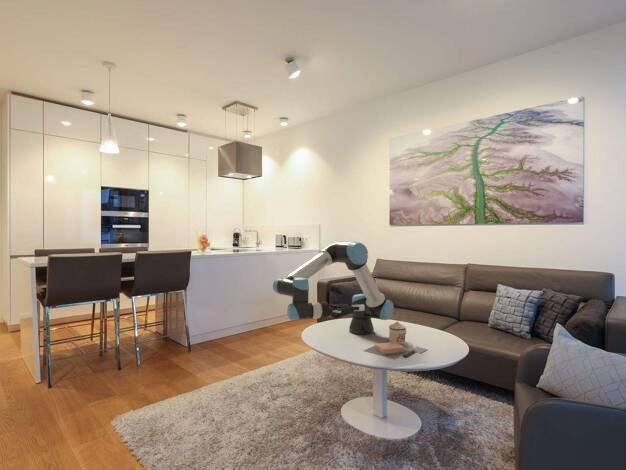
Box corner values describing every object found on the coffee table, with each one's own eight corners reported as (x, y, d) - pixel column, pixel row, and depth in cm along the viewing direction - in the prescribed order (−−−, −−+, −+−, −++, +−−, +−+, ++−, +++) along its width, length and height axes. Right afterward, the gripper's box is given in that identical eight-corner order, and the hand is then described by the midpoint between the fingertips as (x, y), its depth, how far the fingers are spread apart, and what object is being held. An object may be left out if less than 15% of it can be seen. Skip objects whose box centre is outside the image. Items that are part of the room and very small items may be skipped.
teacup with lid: (398, 346, 188) (398, 324, 187) (385, 342, 195) (385, 321, 195) (412, 342, 195) (412, 321, 195) (399, 338, 202) (399, 318, 202)
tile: (383, 349, 173) (404, 347, 177) (374, 343, 182) (394, 341, 185) (383, 354, 173) (404, 352, 177) (374, 348, 182) (394, 346, 185)
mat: (363, 351, 179) (363, 350, 179) (379, 344, 191) (379, 343, 191) (394, 360, 167) (394, 359, 167) (409, 352, 179) (409, 351, 179)
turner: (410, 360, 168) (410, 356, 168) (398, 356, 172) (398, 353, 172) (427, 349, 183) (427, 346, 183) (416, 347, 187) (416, 343, 187)
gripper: (315, 314, 173) (358, 312, 181) (324, 321, 161) (369, 317, 168) (315, 299, 173) (358, 297, 181) (324, 305, 161) (370, 302, 168)
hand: (363, 307), depth 174 cm, fingers closed
